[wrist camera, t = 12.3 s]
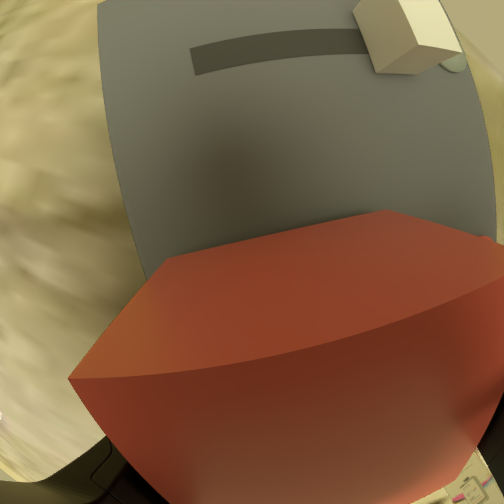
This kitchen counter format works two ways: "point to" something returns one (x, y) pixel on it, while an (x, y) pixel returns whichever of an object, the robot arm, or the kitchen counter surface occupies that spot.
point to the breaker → (405, 34)
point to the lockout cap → (307, 365)
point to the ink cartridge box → (474, 485)
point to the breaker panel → (279, 125)
